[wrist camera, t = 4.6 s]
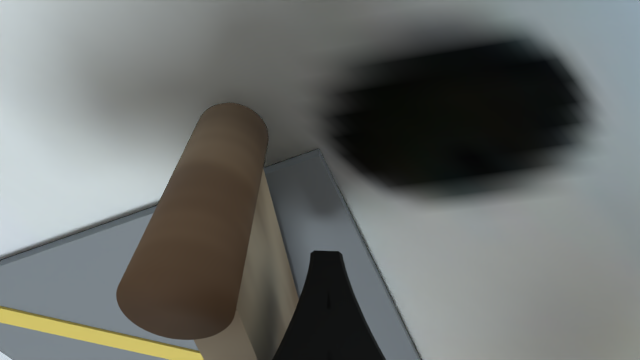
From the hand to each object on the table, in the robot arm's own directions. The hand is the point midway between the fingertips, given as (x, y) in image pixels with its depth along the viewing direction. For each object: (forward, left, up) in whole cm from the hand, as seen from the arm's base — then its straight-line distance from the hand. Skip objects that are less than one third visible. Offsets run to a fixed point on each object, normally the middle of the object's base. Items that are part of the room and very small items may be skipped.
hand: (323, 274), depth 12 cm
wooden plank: (-1, +2, -2) cm, 3 cm away
